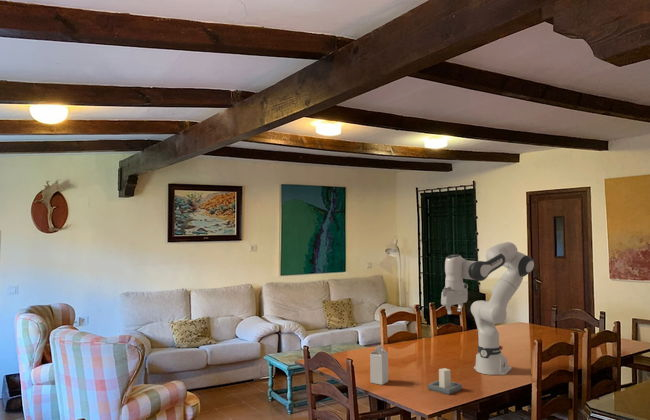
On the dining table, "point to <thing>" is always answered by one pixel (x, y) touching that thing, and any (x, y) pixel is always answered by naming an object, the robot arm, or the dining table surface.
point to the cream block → (444, 378)
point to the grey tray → (453, 389)
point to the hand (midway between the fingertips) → (454, 312)
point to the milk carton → (379, 366)
